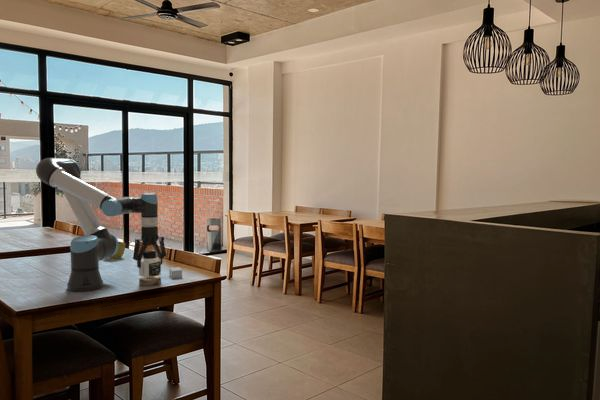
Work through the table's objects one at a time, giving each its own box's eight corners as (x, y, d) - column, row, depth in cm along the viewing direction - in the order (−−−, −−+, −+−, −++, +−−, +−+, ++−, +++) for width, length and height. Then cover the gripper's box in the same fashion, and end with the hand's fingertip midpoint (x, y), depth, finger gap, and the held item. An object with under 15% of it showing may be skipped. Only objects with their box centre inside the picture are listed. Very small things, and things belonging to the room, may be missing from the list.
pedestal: (152, 287, 223) (152, 281, 223) (134, 285, 226) (134, 279, 226) (165, 282, 233) (165, 276, 232) (147, 280, 236) (147, 274, 236)
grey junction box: (182, 277, 243) (182, 270, 242) (172, 278, 240) (172, 270, 240) (179, 274, 249) (179, 267, 248) (169, 275, 247) (169, 268, 246)
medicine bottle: (149, 278, 224) (148, 252, 223) (139, 276, 228) (138, 251, 227) (161, 275, 230) (160, 250, 229) (150, 273, 234) (150, 248, 233)
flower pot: (126, 257, 290) (125, 242, 290) (113, 259, 283) (113, 244, 282) (116, 255, 295) (116, 241, 294) (104, 258, 288) (104, 243, 287)
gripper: (130, 228, 217) (131, 277, 219) (173, 225, 231) (173, 271, 233) (124, 226, 223) (125, 274, 225) (166, 223, 237) (167, 268, 239)
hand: (150, 272), depth 229 cm, fingers closed on medicine bottle, 8 cm apart
